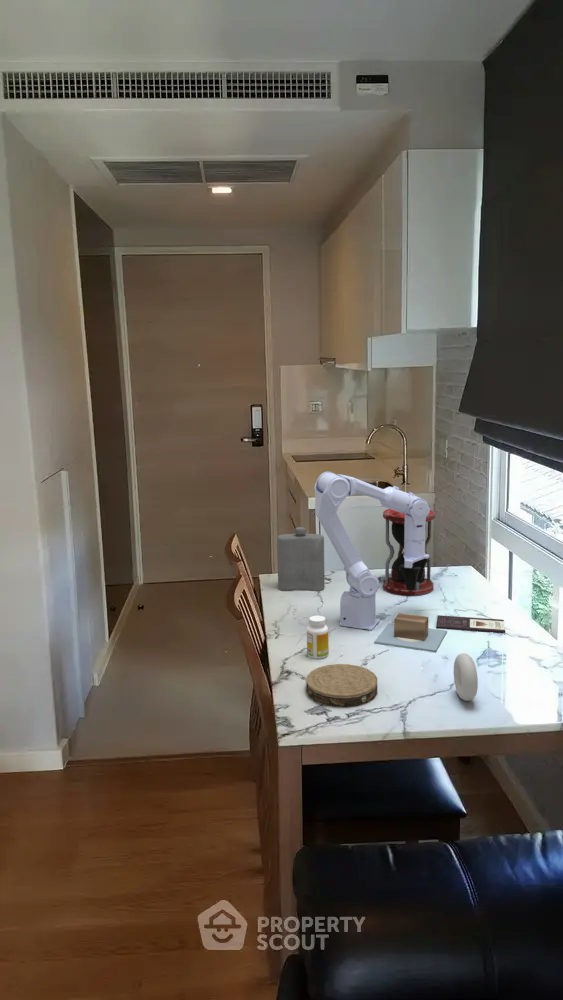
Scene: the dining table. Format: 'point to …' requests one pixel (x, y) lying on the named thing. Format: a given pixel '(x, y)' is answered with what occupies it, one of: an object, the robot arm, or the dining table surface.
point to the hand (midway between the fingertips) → (414, 585)
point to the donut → (465, 677)
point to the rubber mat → (428, 645)
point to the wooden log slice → (341, 685)
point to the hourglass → (397, 580)
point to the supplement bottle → (317, 638)
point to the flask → (300, 561)
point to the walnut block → (411, 626)
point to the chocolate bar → (470, 624)
